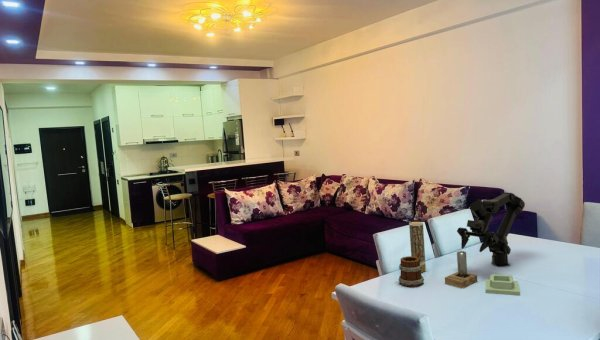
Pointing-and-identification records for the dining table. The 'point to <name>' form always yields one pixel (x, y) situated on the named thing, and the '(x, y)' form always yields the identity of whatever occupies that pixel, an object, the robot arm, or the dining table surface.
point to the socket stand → (502, 285)
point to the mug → (411, 271)
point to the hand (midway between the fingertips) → (470, 249)
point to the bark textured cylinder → (417, 242)
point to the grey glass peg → (462, 264)
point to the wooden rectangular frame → (460, 280)
